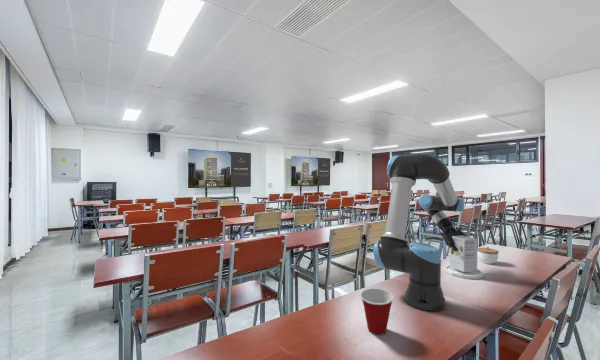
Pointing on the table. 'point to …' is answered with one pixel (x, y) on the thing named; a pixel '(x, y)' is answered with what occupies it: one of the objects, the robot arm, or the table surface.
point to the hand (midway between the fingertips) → (468, 255)
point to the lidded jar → (487, 255)
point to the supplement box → (469, 251)
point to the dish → (463, 273)
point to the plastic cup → (377, 308)
